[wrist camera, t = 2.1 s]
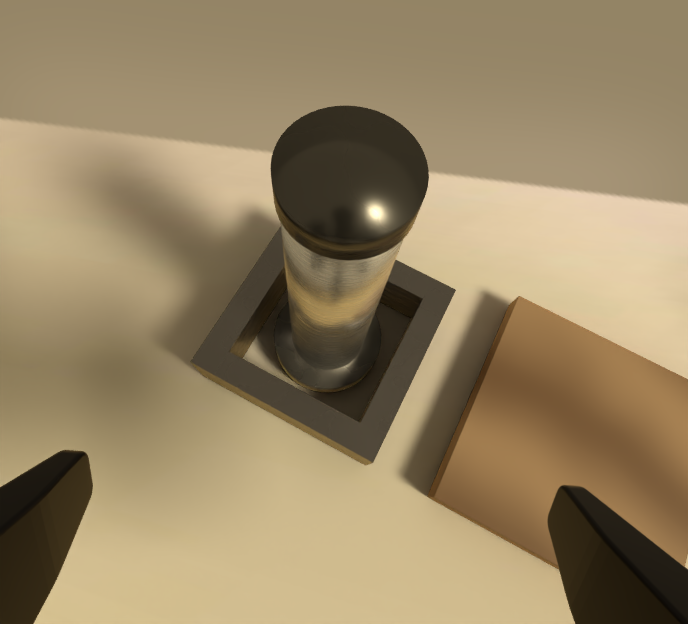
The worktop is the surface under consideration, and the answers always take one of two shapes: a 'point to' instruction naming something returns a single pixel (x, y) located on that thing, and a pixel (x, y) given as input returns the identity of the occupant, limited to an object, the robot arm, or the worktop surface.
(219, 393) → the worktop surface
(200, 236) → the worktop surface
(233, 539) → the worktop surface
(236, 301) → the holder
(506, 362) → the walnut pad
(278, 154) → the capped metal cylinder
